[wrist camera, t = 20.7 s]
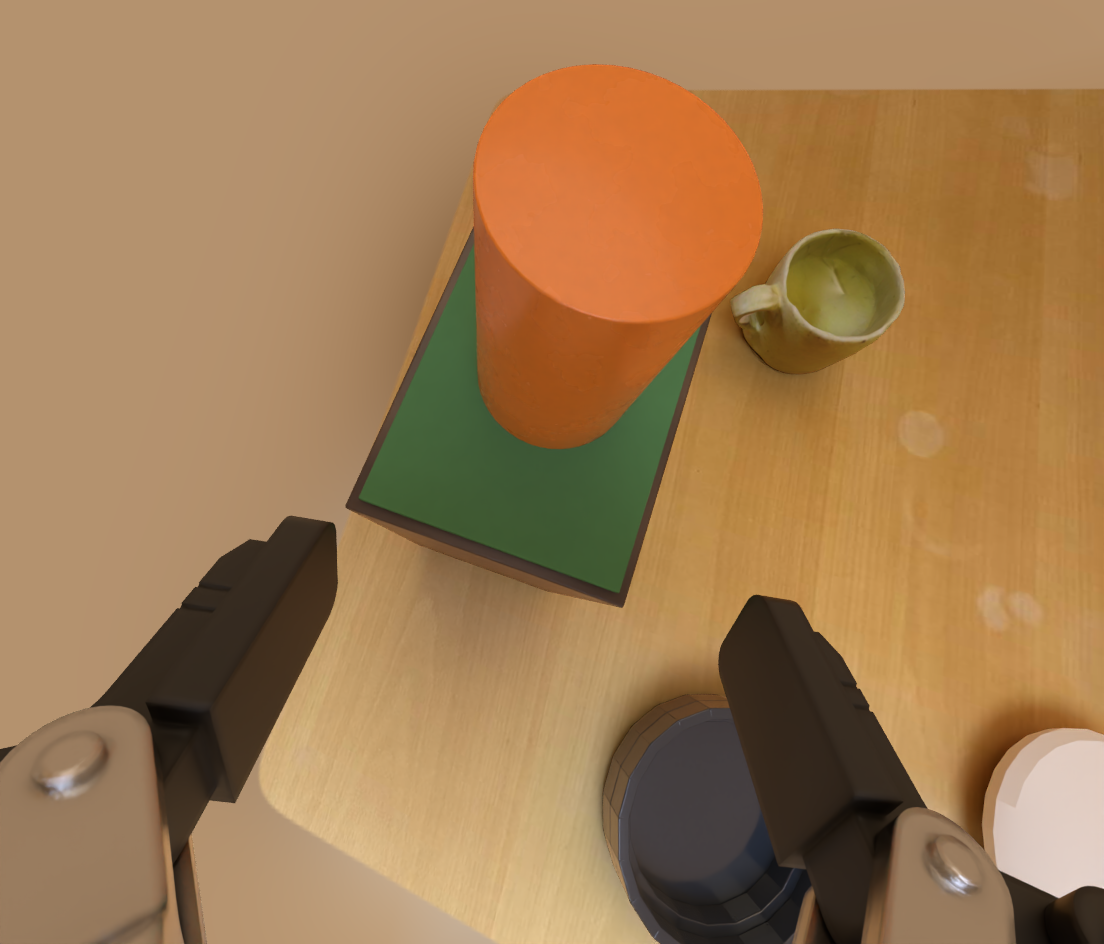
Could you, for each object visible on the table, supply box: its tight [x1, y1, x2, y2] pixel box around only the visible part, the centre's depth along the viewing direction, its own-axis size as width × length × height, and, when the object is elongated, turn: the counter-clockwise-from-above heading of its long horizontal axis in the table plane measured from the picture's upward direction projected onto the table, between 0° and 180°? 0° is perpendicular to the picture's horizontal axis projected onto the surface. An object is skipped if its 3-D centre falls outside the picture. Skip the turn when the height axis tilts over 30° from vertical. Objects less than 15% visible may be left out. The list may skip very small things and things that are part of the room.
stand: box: [346, 227, 712, 608], centre depth 28 cm, size 14×10×20 cm
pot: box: [603, 694, 812, 944], centre depth 33 cm, size 14×14×4 cm
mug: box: [730, 229, 905, 374], centre depth 40 cm, size 12×10×10 cm
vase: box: [982, 728, 1104, 898], centre depth 35 cm, size 16×16×7 cm
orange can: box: [473, 64, 763, 449], centre depth 14 cm, size 6×6×9 cm
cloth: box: [359, 245, 700, 593], centre depth 18 cm, size 13×9×1 cm
